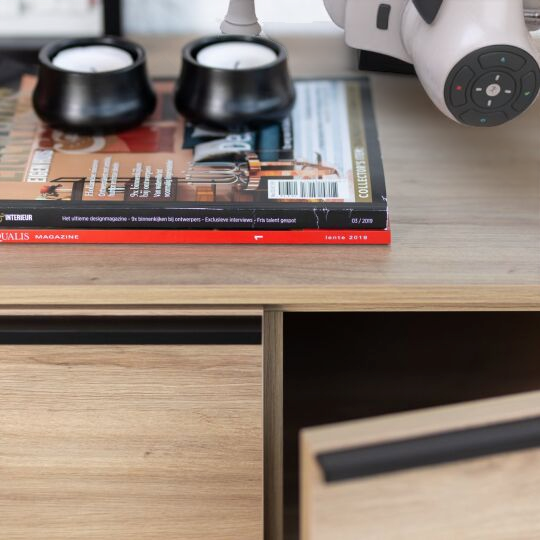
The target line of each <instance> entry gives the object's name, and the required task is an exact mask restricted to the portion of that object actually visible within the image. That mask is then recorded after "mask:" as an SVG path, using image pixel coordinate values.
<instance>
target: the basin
mask: <svg viewBox="0 0 540 540" xmlns="http://www.w3.org/2000/svg"><path fill="white" fill-rule="evenodd" d="M356 56H357V68H358V70H364V71H377V72H378V71H379V72H387V73H388V72H389V73H400V74H401V73H402V74H410V75H411V74H413V75H417V73H416V70H415V68H414V64H411V63H408V62H405V61H403V60H401V59H398V58H395V57H392V56H389V55H385V54H380V53H376V52H371V51H366V50H362V49H357V48H356Z"/></svg>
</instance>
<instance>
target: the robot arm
mask: <svg viewBox="0 0 540 540" xmlns="http://www.w3.org/2000/svg"><path fill="white" fill-rule="evenodd" d="M322 3H323V6H324V8H325V11H326V13H327V15H328V17H329V18H330V20H331V21H332V22H333V23H334V25H335V26H336V27H338V28H340V29H342V30H343V31H344V32H343V33H344V36H343V37H344V43H345V45H347V46H348V47H350V48H352V49H356V50H357V49H362V50H366V51H371V52H376V53H380V54H385V55H389V56H392V57H395V58H398V59H401V60H403V61H405V62H408V63H411V64H414V68H415V70H416V73H417V74H416V76H417V77H418V79H419V81H420V83H421V85H422V88H423V89H424V91H425V92H426V94H427V97H428V98H429V99H430V100H431V101H432V103H433V105H435V107H436V108H437V109H438V110H439V111H440V112H441V113H443V115H445V116H446V117H448V118H449V119H451V120H452V121H454V122H456V123H457V124H459V125H463V126H466V127H472V128H492V127H496V126H501V125H504V124H507V123H509V122H511V121H513V120H514V119H516V118H518V117H519V116H521V115H522V114H524V113H525V112H526V111H528V109H530V107H531V106H533V104H534V103H535V101H536V100H537V99H538V97H539V95H540V53H539V50H538V47H537V45H536V43H535V40H534V38H533V37H532V34H531V32H536V31H539V30H540V0H322Z"/></svg>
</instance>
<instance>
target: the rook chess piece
mask: <svg viewBox="0 0 540 540" xmlns="http://www.w3.org/2000/svg"><path fill="white" fill-rule="evenodd" d="M258 20H259V18H258V17H257V15H256V6H255V0H229V3H228V8H227V12H226V14H225V15H224V20H223V21H221V23H220V24H219V30H220V31H221V32H220V33H219V34H218V36H219V35H221V34H243V35H255V36H260V37H261V38H262V36H261V35H260V34H261V33H262V26H261V25H260V23H259V21H258Z"/></svg>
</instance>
